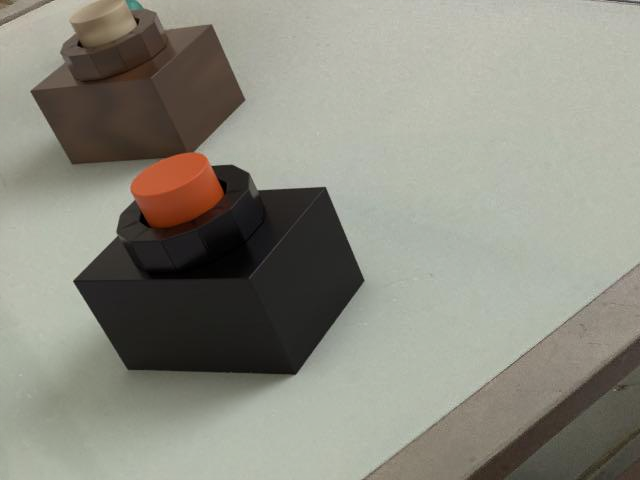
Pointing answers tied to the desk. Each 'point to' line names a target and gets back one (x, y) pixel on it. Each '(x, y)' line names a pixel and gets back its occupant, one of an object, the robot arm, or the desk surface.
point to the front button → (176, 190)
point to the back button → (102, 22)
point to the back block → (139, 93)
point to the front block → (225, 282)
